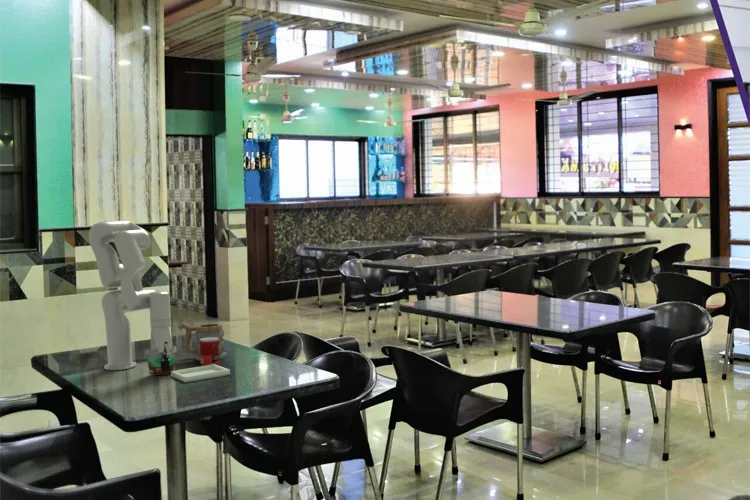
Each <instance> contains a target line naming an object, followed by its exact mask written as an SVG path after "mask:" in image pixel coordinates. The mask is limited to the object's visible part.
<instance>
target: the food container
mask: <svg viewBox="0 0 750 500" xmlns="http://www.w3.org/2000/svg"><path fill="white" fill-rule="evenodd" d="M177 351H178V350H177V347H176V345H174V346H173V347H171V351H170V356H169V359H170V360H169V366H170V370H168V371H161V361H162V359H161V355H162V354H158V353H157V350H151V349H147V348H145V350H144V355H146V360H147V365H148V373H149V374H150V375H152V376H161V375H162V376H164V375H169V374H170V375H171V371H175V361H176V360H175V359H176V352H177ZM163 353H166V351H165V350H164V351H163ZM164 355H166V354H163V356H164Z"/></svg>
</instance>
